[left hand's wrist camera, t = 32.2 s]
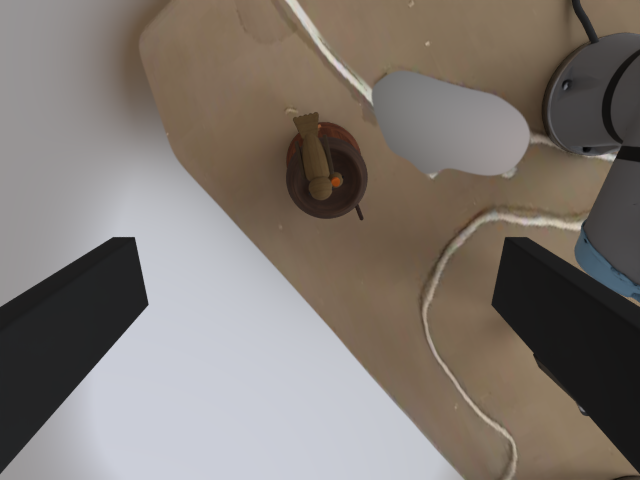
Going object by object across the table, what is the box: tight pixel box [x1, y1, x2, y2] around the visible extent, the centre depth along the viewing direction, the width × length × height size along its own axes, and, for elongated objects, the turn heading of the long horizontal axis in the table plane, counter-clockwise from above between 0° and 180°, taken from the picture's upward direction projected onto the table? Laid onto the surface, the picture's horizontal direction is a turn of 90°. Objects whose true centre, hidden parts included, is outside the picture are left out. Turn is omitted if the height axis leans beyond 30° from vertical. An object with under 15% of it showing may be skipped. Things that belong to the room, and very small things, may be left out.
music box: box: [286, 112, 367, 220], centre depth 42 cm, size 15×11×20 cm
